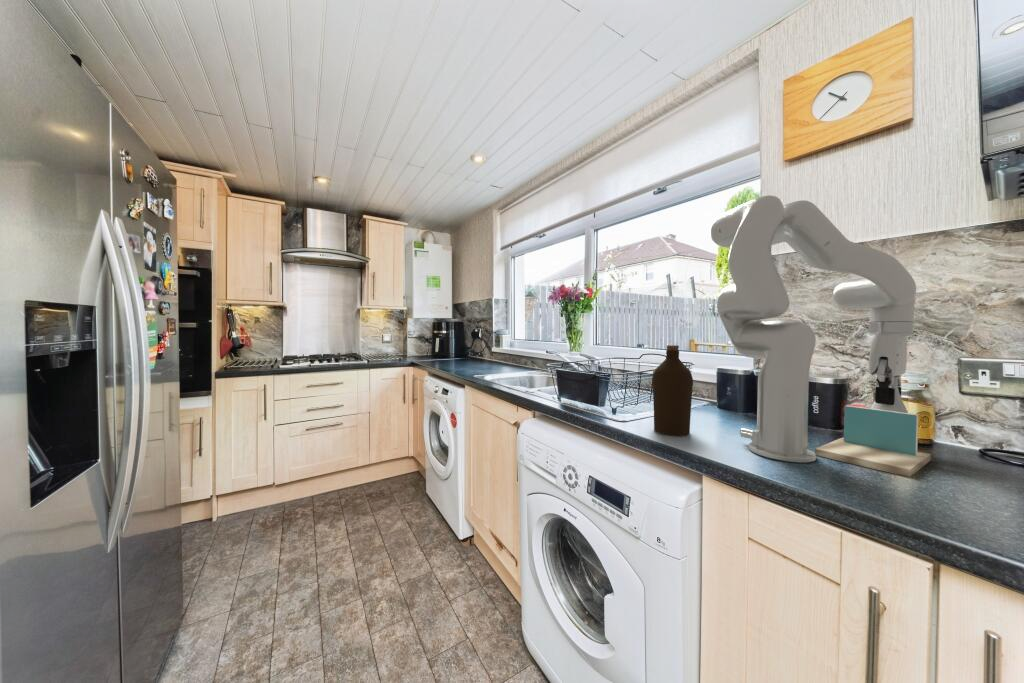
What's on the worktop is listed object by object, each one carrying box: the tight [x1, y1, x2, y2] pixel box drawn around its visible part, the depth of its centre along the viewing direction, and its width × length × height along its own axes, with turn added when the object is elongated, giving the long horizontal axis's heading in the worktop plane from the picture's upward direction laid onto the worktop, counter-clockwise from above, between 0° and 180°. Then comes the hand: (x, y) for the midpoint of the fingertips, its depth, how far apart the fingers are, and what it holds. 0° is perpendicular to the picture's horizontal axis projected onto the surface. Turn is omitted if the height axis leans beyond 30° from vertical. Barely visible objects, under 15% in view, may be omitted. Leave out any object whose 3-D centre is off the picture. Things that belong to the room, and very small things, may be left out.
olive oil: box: [651, 344, 694, 437], centre depth 102 cm, size 11×11×25 cm
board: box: [814, 436, 931, 478], centre depth 81 cm, size 15×18×2 cm
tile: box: [843, 405, 919, 456], centre depth 84 cm, size 12×2×9 cm, turn 32°
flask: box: [870, 376, 909, 413], centre depth 88 cm, size 7×7×10 cm
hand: (887, 402), depth 88 cm, fingers closed on flask, 4 cm apart
